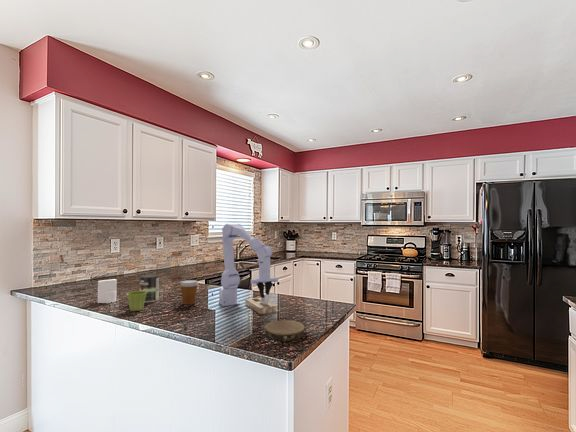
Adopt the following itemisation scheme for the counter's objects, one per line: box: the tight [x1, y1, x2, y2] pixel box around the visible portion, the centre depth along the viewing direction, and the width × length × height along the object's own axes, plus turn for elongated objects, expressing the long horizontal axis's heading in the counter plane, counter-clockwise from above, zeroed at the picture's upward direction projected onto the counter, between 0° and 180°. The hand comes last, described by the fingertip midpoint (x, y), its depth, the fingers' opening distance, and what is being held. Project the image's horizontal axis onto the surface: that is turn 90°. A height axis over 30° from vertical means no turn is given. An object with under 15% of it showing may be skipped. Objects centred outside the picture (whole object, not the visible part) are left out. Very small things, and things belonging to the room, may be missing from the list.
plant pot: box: [126, 290, 147, 312], centre depth 152 cm, size 9×9×9 cm
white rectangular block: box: [97, 278, 118, 304], centre depth 168 cm, size 9×9×12 cm
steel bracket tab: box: [260, 291, 269, 307], centre depth 152 cm, size 2×5×7 cm, turn 29°
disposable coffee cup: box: [179, 279, 199, 305], centre depth 166 cm, size 10×10×12 cm
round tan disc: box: [264, 319, 305, 342], centre depth 120 cm, size 16×16×3 cm
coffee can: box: [138, 273, 160, 304], centre depth 171 cm, size 10×10×14 cm
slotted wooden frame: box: [244, 296, 278, 315], centre depth 156 cm, size 9×20×3 cm, turn 29°
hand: (264, 296), depth 152 cm, fingers closed on steel bracket tab, 2 cm apart
